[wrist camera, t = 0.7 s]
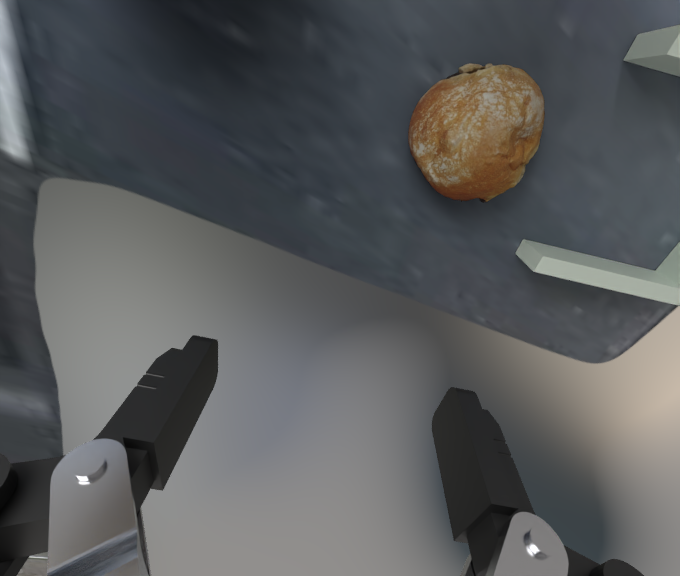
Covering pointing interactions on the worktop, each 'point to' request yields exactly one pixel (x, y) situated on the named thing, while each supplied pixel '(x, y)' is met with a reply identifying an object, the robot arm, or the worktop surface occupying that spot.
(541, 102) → the bread roll
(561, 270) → the green u-shaped bracket
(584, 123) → the worktop surface
